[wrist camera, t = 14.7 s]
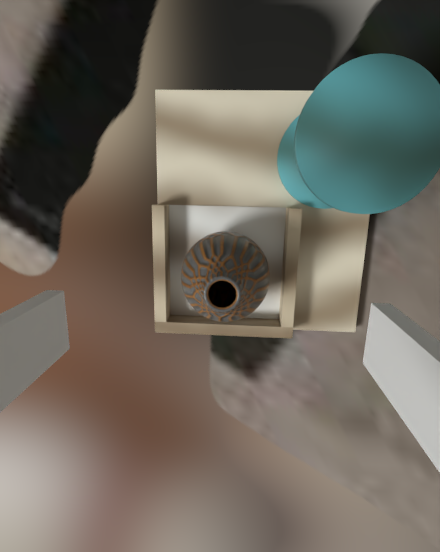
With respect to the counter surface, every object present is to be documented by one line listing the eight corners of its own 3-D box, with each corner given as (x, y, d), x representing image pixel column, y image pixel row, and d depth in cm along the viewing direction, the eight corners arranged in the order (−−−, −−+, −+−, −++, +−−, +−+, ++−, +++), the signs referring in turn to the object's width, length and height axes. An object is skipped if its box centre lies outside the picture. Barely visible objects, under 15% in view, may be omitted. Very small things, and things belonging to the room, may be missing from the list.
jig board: (158, 93, 28) (109, 31, 17) (379, 95, 27) (468, 30, 16) (162, 320, 32) (126, 378, 22) (351, 328, 31) (406, 392, 21)
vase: (223, 210, 28) (216, 216, 20) (282, 263, 29) (300, 290, 21) (173, 269, 30) (146, 298, 21) (230, 318, 31) (227, 365, 22)
